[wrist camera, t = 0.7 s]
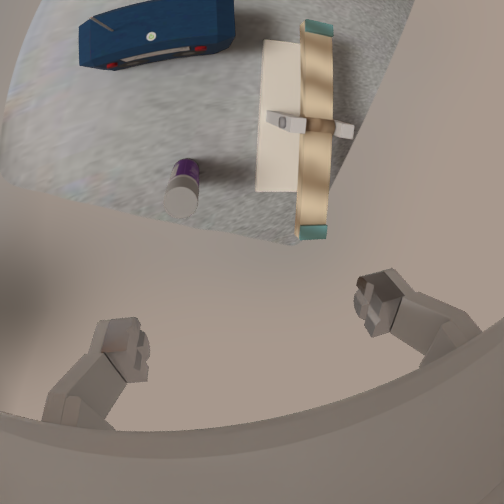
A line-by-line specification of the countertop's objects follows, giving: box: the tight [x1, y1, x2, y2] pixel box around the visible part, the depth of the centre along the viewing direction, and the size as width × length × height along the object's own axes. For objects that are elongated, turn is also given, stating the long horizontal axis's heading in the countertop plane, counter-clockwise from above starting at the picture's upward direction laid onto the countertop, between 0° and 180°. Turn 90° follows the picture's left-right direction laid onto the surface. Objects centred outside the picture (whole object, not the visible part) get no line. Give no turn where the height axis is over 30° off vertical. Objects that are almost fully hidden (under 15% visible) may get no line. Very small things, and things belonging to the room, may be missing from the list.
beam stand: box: [255, 39, 354, 192], centre depth 37 cm, size 28×11×15 cm, turn 177°
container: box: [163, 158, 199, 219], centre depth 39 cm, size 5×5×15 cm
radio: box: [79, 0, 235, 71], centre depth 24 cm, size 21×9×20 cm, turn 92°
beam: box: [294, 19, 335, 240], centre depth 33 cm, size 32×4×3 cm, turn 177°
